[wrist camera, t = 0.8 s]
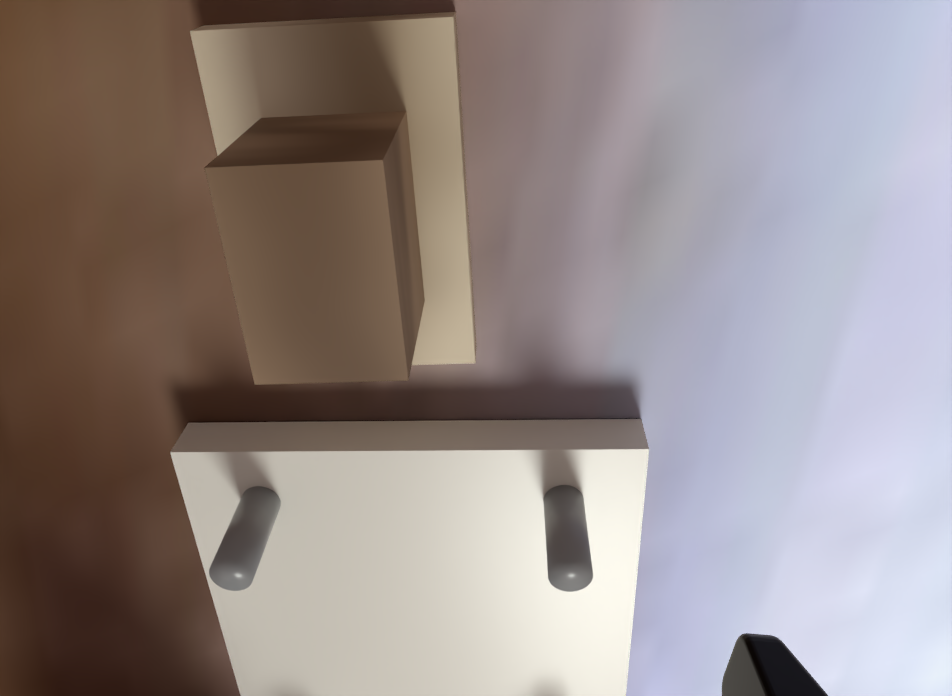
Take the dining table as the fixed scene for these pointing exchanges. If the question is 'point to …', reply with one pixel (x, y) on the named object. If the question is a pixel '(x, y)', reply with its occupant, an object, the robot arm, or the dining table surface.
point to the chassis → (420, 553)
